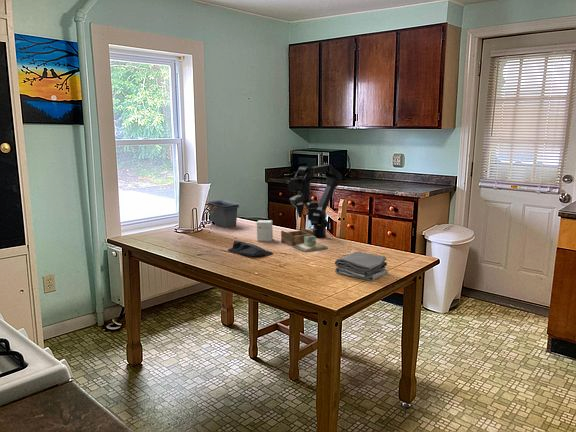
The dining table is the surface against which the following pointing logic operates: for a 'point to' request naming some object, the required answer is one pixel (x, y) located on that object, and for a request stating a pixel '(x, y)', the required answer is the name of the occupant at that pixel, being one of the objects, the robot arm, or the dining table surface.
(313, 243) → the cover plate
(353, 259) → the towel
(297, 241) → the walnut box
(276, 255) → the dining table surface
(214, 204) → the storage bin
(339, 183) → the robot arm
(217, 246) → the dining table surface
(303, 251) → the rubber mat
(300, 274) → the dining table surface
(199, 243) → the dining table surface
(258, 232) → the small box
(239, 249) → the crumpled dark cloth
